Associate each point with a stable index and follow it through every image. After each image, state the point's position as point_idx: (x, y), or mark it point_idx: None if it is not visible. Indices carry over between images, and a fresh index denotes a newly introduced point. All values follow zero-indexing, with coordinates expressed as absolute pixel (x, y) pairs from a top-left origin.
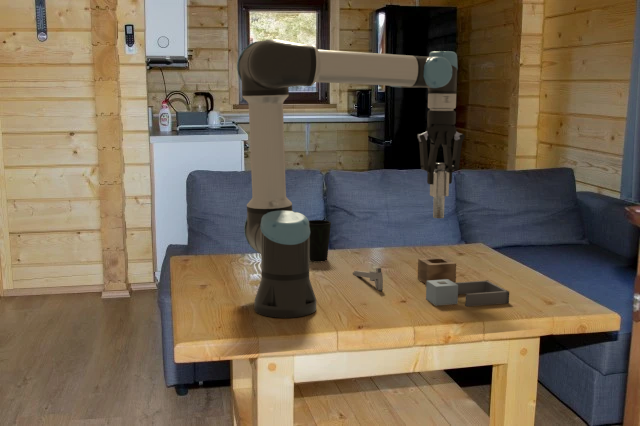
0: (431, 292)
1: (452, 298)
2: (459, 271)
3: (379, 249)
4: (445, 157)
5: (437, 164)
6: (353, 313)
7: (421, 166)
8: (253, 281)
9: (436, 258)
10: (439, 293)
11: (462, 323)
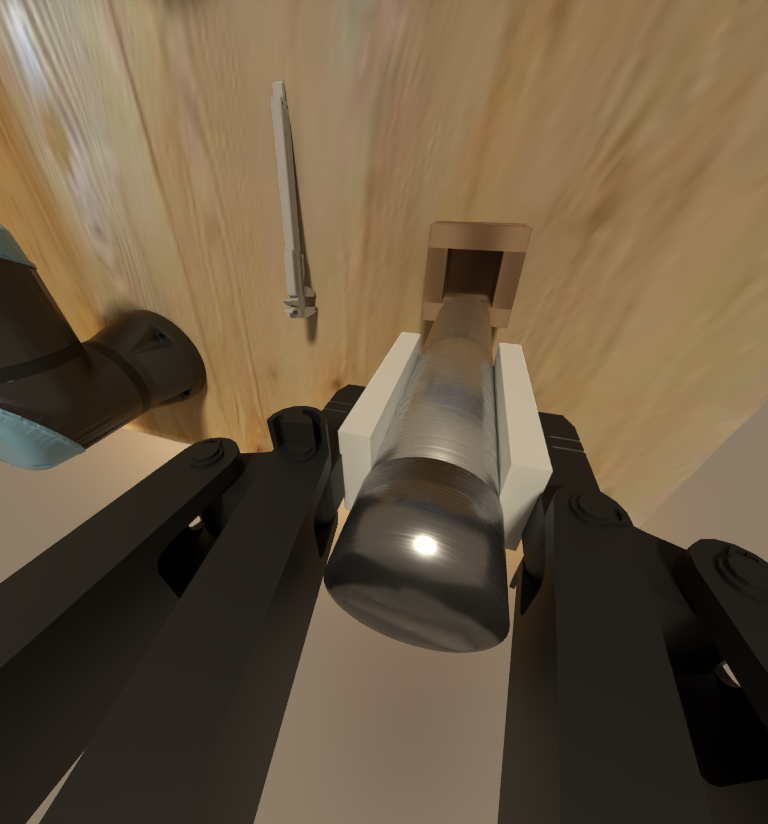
0: None
1: None
2: (642, 151)
3: None
4: (529, 788)
5: (348, 600)
6: (254, 406)
7: (178, 475)
8: (47, 121)
9: (491, 242)
10: None
11: None
